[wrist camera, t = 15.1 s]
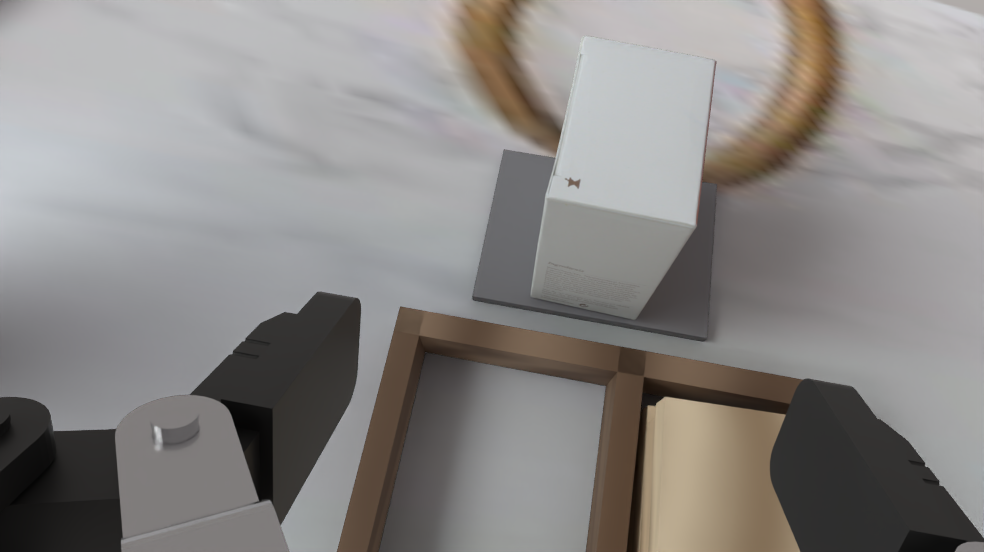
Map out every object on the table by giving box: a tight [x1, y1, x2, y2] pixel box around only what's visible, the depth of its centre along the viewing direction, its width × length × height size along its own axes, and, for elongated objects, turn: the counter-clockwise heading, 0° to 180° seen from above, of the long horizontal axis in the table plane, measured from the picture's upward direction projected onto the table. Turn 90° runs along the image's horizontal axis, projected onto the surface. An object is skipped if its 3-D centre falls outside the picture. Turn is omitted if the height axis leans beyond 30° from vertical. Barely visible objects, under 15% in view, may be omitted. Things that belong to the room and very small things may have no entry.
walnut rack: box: [337, 307, 803, 552], centre depth 27 cm, size 20×16×3 cm
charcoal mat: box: [472, 150, 717, 341], centre depth 34 cm, size 12×9×1 cm
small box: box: [531, 36, 716, 320], centre depth 29 cm, size 8×6×10 cm
